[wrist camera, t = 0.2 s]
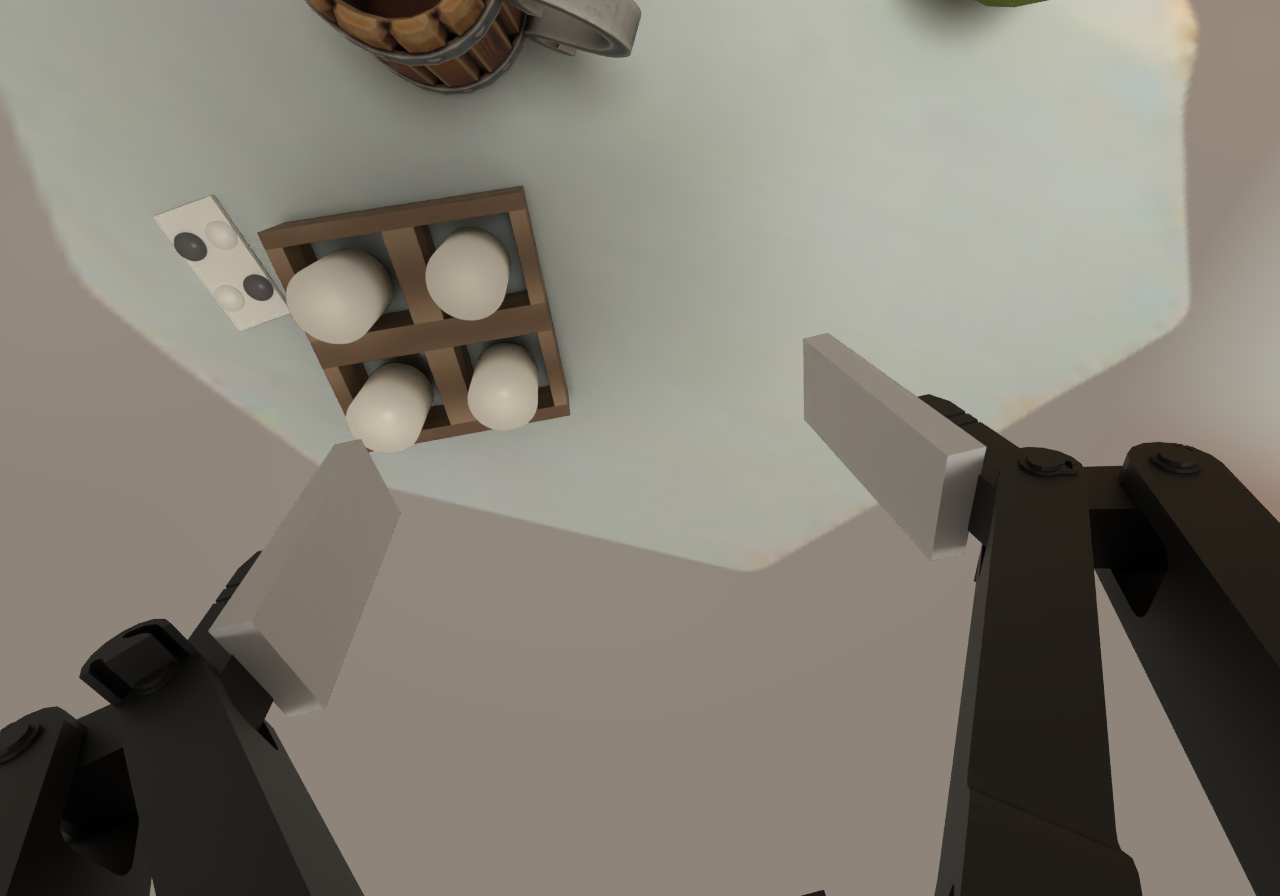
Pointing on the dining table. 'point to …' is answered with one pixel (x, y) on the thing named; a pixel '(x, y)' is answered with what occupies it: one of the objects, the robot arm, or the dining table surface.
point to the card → (223, 262)
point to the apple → (1008, 2)
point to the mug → (476, 34)
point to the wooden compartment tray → (429, 304)
